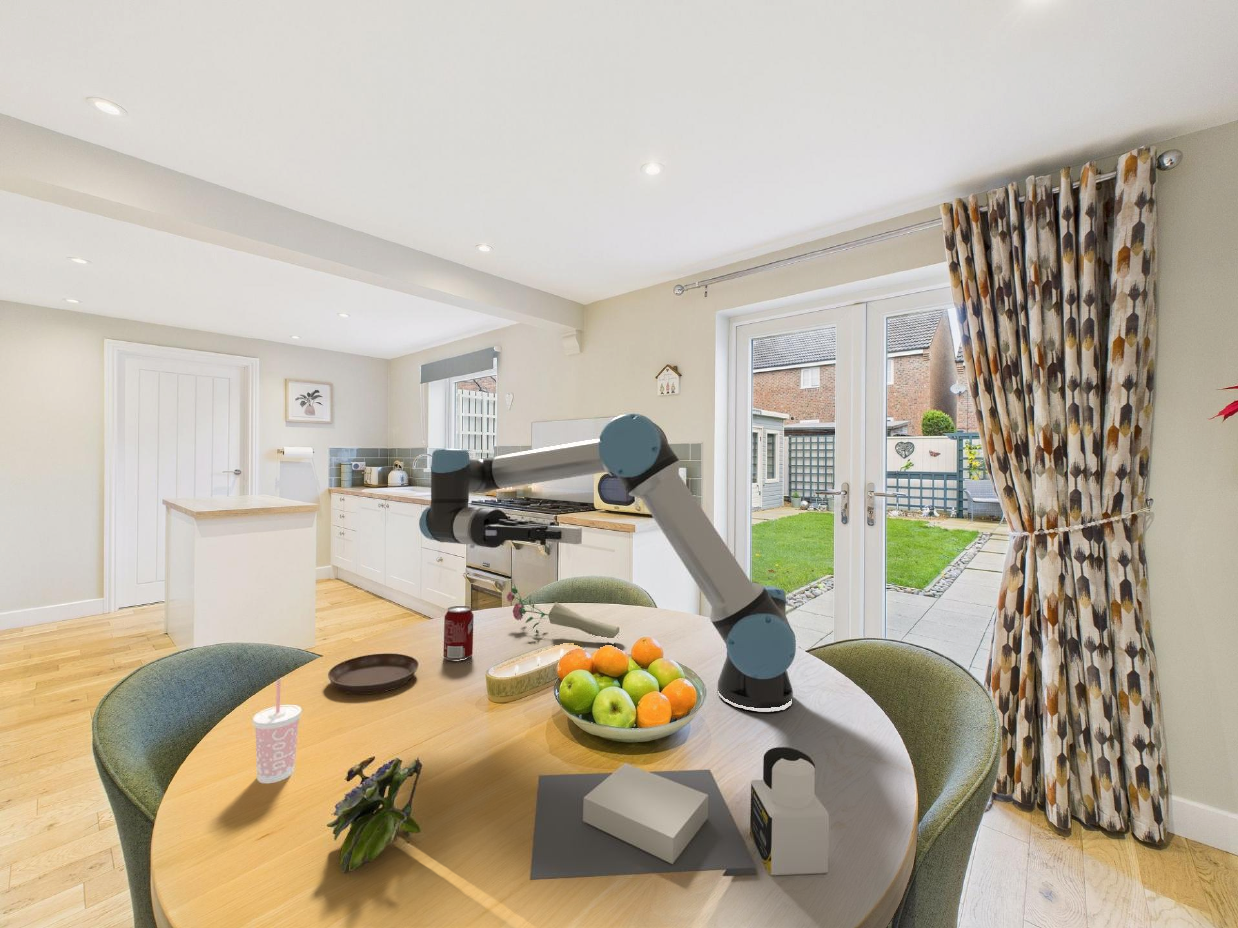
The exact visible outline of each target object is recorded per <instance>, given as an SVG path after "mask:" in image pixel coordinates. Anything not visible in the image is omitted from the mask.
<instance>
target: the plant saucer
mask: <svg viewBox="0 0 1238 928" xmlns="http://www.w3.org/2000/svg"><path fill="white" fill-rule="evenodd" d="M419 665H420V664H419V660H417V659H416V658H415V657H412V656H410V655H406V654H401V653H393V652H391V653H386V652H385V653H372V654H366V655H361V656H360V655H359V656H357V657H353V658H349V659H347V660H344V661H341V662H339V663H338V664H337V663H336V665H334V666H333V667H332V668H330V669H329V671H328V673H327V679H329V681H330V682H331V684H333V685H334V687H336V688H337V690H339V691H341V692H344V693H345V692H346V694H351V695H370V694H371V695H372V693H373V694H378V693H377V692H379V693H383V691H384V692H387V691H386V690H388V691H390V689H391V690H394V689H397V688H399V687H400V685H401V686H403V685H404V684H405V682H406V683H407V682H408V681H409V680H410V679H411V678H412V677H413V676H414V674H415V673H416V672H417V670H418V668H419ZM402 684H403V685H402ZM396 687H397V688H396ZM393 688H394V689H393Z"/></svg>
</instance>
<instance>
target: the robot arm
mask: <svg viewBox="0 0 1238 928" xmlns="http://www.w3.org/2000/svg"><path fill="white" fill-rule="evenodd" d="M680 466H681V461H680V459H679V458H678V457H677V455H676V454H675V452H674V451H673V449H672V447H671V446H670V444H669V442H668V439H667V436H666V434H665V432H664V430H663V429H662V427H660V426H659V424H658V425H657V423H655V422H653V420H651V419H650V418H648V417H647V416H644V415H643V414H639V413H625V414H621V415H619V416H616V417H614V418H613V419H611V420H610V421H608V423H607V424H606V425H605V426H604V427H603V429H602V431H601V432H600V435H599V438H596V439H590V440H584V441H578V442H571V443H567V444H561V445H556V446H555V445H554V446H549V447H542V448H537V449H532V450H525V451H519V452H514V453H508V454H503V455H498V456H497V455H496V456H491V457H486V458H480V459H473V458H471V459H470V453H469V451H468V450H466V449H463V448H461V449H460V448H437V449H434V450H433V452H432V455H431V464H430V505H429V506H427V507H426V508H425V509H424V510H423V511H422V513H421V516H420V518H419V520H418V521H419V522H418V526H419V529H420V532H421V534H422V535H423V536H424V537H425V538H426V539H429V540H431V541H437V542H439V543H448V544H450V543H451V544H457V545H458V544H460V545H469V548H470V549H474V548H475V547H483V548H490V549H491V548H492V549H493V548H495V549H496V548H499V547H500V546H502V545H503V544H504V543H505V541H512V542H513V541H516V542H531V543H536V542H539V545H540V546H546V545H547V542H548V543H549V542H551V543H558V544H559V543H560V544H568V545H569V544H571V545H580V544H582V542H583V540H582V539H583V538H582V536H583V535H582V533H583V531H582V530H583V529H582V527H575V526H574V527H572V526H561V525H559V524H557V523H556V521H551V522H549V523H547V522H538V521H534V520H519V519H517V518H508V516H507V514H506V513H505V512H504V511H503V510H501V509H497V508H484V507H474V506H472V507H471V506H469V500H470V499H469V498H470V494H471V493H486V492H488V493H489V492H491V491H496V490H500V489H507V488H512V487H519V486H525V485H531V484H539V483H544V482H546V483H547V482H551V481H552V482H553V481H558V480H564V479H570V478H577V477H584V476H589V475H590V476H591V475H597V474H602V473H607V474H608V475H609V476H611V477H613V476H614V477H615V476H616V477H617V479H618V480H619V482H620V483H621V485H622V486H623V488H624V489H625V491H626V493H628V495H629V496H630V497H634V498H639V499H640V500H642V503H643V504H644V505H645V507H646V509H647V510H648V512H649V513H650V514H651V516H652V518H653V519H654V521H655V522H656V524H657V525H658V527H659V529H660V531H662V533H663V534H664V536H665V538H666V540H667V541H668V542H669V544H670V545H671V547H672V548H673V550H674V551H675V552H676V555H677V556H678V558H679V559H680V561H681V562H682V564H683V565H684V567H685V569H687V571H688V573H689V575H690V576H691V578H692V579H693V580H694V582H695V585H697V586H698V589H699V590H700V591H701V593H702V594H703V596H704V598H705V599H706V601H707V602H708V603H709V605H710V606H711V609H710V614H709V619H710V622H711V623H712V624H713V626H714V628H715V630H716V631H717V632H718V634H719V636H720V637H721V639H722V640H723V643H725V645H726V647H725V648H726V657H725V661H724V662H723V663H724V664H723V667H722V669H721V672H720V675H719V678H718V680H717V692H718V691H719V693H720V694H721V695H722V696H723V697H724V698H725V699H728V700H729V701H731V702H733V703H736V704H738V705H743V706H746V707H754V708H771V707H780V706H782V705H785V704H786V703H788V702H789V701H791V699H792V698H793V699H794V691H793V687H792V684H791V680H790V677H789V674H788V669H789V668H790V667H791V666H792V663H793V662H794V660H795V657H796V650H797V643H796V642H797V640H796V635H795V632H794V630H793V628H792V627H791V625H790V622H789V621H788V617H787V615H786V614H787V612H786V608H787V607H786V606H787V605H786V604H787V602H788V601H787V597H786V591H785V590H784V589H783V588H780V587H776V586H772V585H771V586H770V585H763V584H761V583H756V582H753V581H750V579H749V577H748V575H747V574H746V573H745V572H744V571H745V570H743V568H742V567H741V565H740V563H738V561H737V560H736V558H735V556H734V554H733V553H732V551H731V550H730V549H729V547H728V546H727V545H726V543H725V541H724V540H723V538H722V537H721V535H720V533H718V531H717V529H716V528H715V526H714V524H713V523H712V522H711V520H710V518H709V517H708V516H707V515H706V512H704V510H703V508H702V507H701V505H700V504H699V502H698V501H697V499H696V498H695V496H694V495H693V493H692V492H691V490H690V488H689V487H688V486H687V484H686V483H685V482H684V480H683V478H682V477H681V475H680V473H679V472H680Z"/></svg>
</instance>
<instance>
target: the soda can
mask: <svg viewBox="0 0 1238 928" xmlns="http://www.w3.org/2000/svg"><path fill="white" fill-rule="evenodd" d="M474 615H475V614H474V613H473V612H472V607H471V606H469V605H464V604H462V605H453V606H449V607H447V612H446V614H445V615H444V624H443V658H444V659H445V660H448V661H449V660H460V659H465V658H468V657H469V658H470V656H471V655H472V656H473V650H474V645H473V644H474ZM472 656H471V657H472ZM469 658H468V659H469Z"/></svg>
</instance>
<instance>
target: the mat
mask: <svg viewBox="0 0 1238 928" xmlns="http://www.w3.org/2000/svg"><path fill="white" fill-rule="evenodd" d="M649 772H650V773H653V774H655V775H658V776H661V777H663V778H666V779H668V780H671V781H673V782H676V783H679V784H681V785H684V786H686V787H689V788H692V789H694V790H697V791H699V792H702V793H705V794H707V795H708V818H707V819H706V821H705V822H704V823H703V825H702V826H701V827H700V829H699V830H698V831H697V833H696V834H695V835H694V837H693V838H692V839H691V841H690V842H689V843H688V844H687V846H686V847H685V848H684V850H683V851H682V852H681V854H680V855H679V856H678V858H677V859H676V860H675V862H674V863H673V864H671V863H669V862H667V861H665V860H663V859H661V858H659V857H657V856H655V855H653V854H650V853H648V852H646V851H644V850H642V849H640V848H638V847H636V846H634V845H632V844H630V843H628V842H626V841H623V840H621V839H619V838H617V837H615V836H613V835H611V834H609V833H607V832H605V831H603V830H601V829H599V828H596V827H594V826H592V825H590V824H588V823H586V822H584V821H583V801H584V797H585V796H586V795H587V794H589V793H590V792H591V791H592V790H593V789H595V788H596V787H597V786H598V785H599V784H601V783H602V782H603V781H604V780H605V779H607V778H608V777H609V776H610V775H611V774H612V773H613V772H604V773H603V772H600V773H599V772H597V773H596V772H595V773H571V774H569V773H567V774H566V773H565V774H543V775H542V774H540V775H538V783H537V795H536V796H537V797H536V805H535V806H536V807H535V819H534V830H533V831H534V832H533V842H532V852H531V853H532V855H531V863H530V864H531V865H530V866H531V867H530V874H529V875H530V876H529V880H530V881H531V880H549V879H566V878H568V879H570V878H586V877H590V878H591V877H605V876H606V877H607V876H624V875H627V876H628V875H641V874H642V875H644V874H645V875H647V874H660V873H662V874H663V873H665V874H666V873H681V872H698V871H699V872H700V871H703V872H704V871H716V870H717V871H718V870H725V871H724V872H723V874H722V877H726V876H727V877H728V876H729V877H730V876H746V875H749V876H750V875H757V870H758V869H757V866H756V863H755V861H754V859H753V857H752V855H751V853H750V850H749V848H748V846H747V845H746V842H745V840H744V838H743V837H742V836H743V835H742V834H741V832H740V830H739V828H738V825H737V823H736V821H735V819H734V817H733V815H732V812H731V811H730V808H729V806H728V805H727V802H726V800H725V798H724V796H723V794H722V792H721V790H720V788H719V786H718V783H717V782H716V779H715V777H714V776H713V773H712V771H711V769H689V770H688V769H687V770H684V769H683V770H682V769H681V770H661V771H659V770H658V771H655V770H654V771H649Z"/></svg>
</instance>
